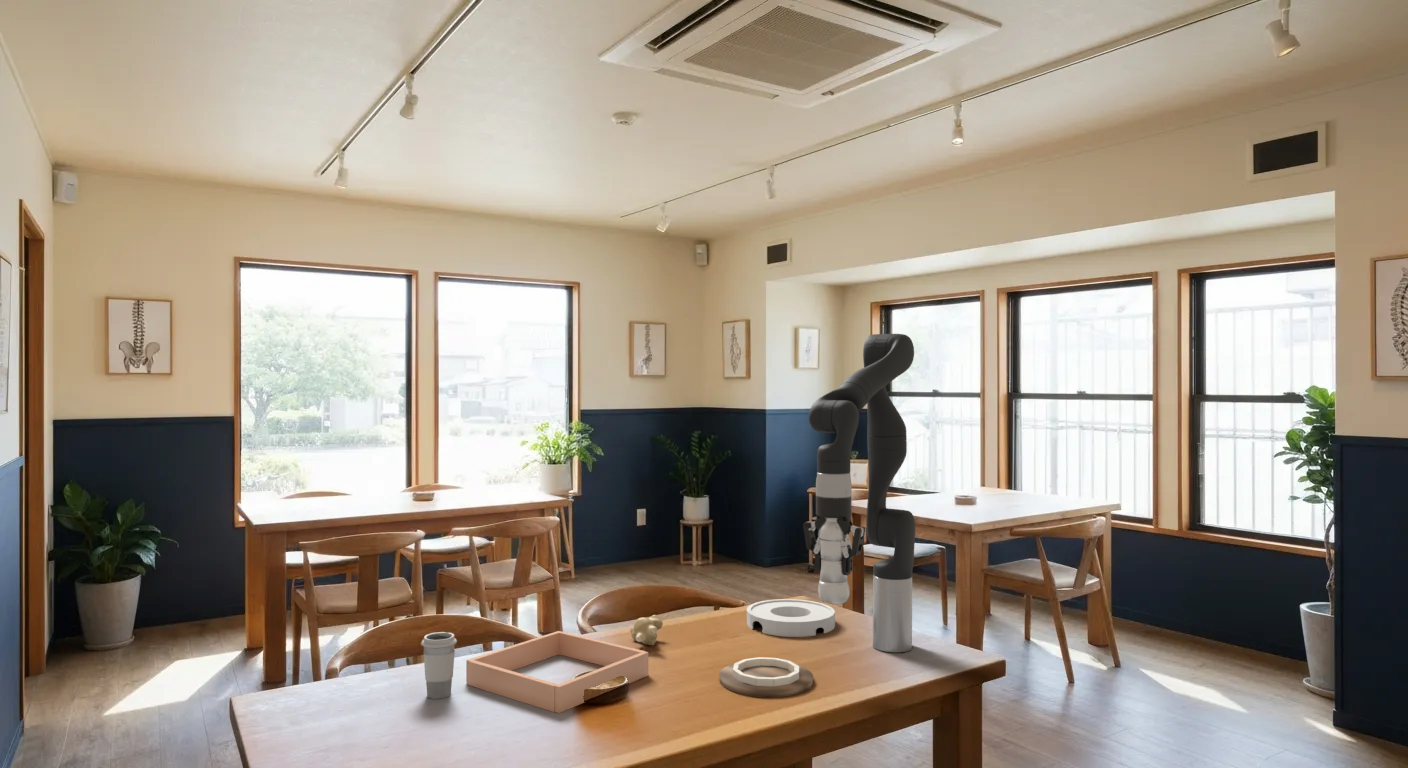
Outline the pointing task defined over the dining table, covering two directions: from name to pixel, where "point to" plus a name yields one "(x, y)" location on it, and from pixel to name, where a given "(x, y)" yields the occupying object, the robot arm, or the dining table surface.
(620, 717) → the dining table surface
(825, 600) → the plastic bottle
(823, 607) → the white round disc base
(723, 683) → the round tan coaster
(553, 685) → the peach open square frame
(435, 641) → the cup
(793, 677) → the ring
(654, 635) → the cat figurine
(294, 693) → the dining table surface
